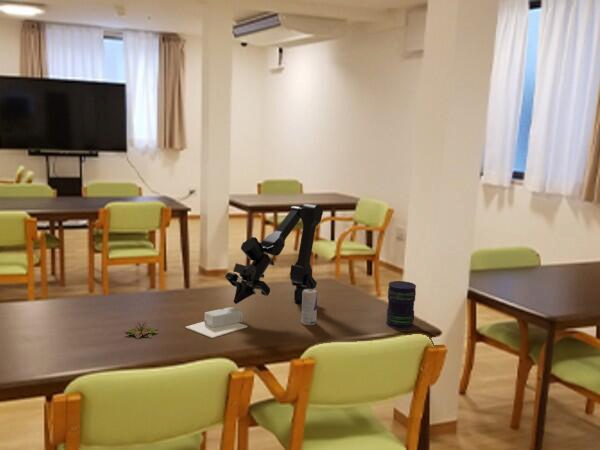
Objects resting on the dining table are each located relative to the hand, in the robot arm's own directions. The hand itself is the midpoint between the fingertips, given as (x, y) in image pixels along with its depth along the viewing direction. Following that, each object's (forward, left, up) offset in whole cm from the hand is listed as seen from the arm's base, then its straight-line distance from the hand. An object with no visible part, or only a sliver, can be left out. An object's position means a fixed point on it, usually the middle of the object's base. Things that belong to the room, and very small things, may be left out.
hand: (234, 303), depth 213 cm
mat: (+5, +6, -7) cm, 11 cm away
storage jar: (-59, -4, -7) cm, 60 cm away
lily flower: (+29, +14, -8) cm, 33 cm away
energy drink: (-26, -2, -7) cm, 27 cm away
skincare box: (-1, -2, -5) cm, 5 cm away
